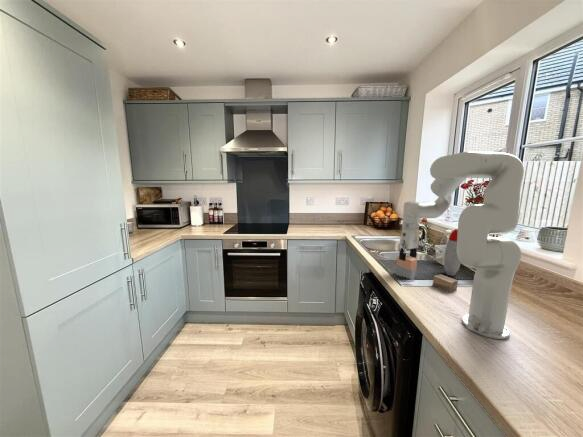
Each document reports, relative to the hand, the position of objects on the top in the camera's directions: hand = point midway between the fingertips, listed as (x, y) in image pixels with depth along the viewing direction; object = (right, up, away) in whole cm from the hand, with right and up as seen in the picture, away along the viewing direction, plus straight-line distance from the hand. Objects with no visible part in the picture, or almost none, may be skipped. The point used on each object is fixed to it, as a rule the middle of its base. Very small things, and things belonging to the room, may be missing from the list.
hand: (407, 258), depth 122 cm
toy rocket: (+26, -10, +5) cm, 28 cm away
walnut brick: (+11, -12, -12) cm, 20 cm away
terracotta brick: (0, -5, +1) cm, 5 cm away
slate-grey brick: (0, -10, +2) cm, 10 cm away
